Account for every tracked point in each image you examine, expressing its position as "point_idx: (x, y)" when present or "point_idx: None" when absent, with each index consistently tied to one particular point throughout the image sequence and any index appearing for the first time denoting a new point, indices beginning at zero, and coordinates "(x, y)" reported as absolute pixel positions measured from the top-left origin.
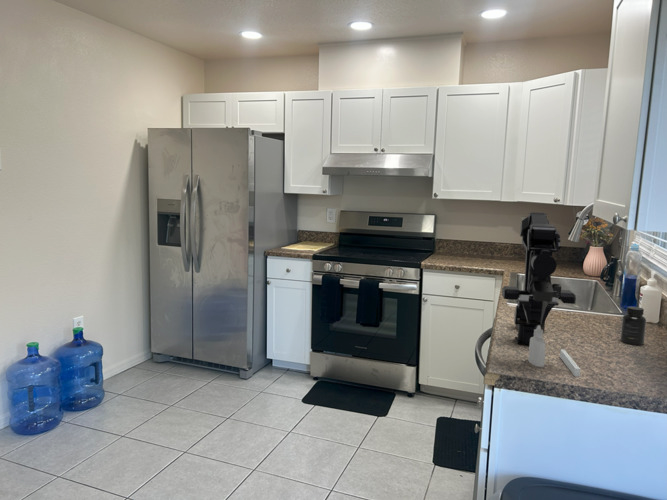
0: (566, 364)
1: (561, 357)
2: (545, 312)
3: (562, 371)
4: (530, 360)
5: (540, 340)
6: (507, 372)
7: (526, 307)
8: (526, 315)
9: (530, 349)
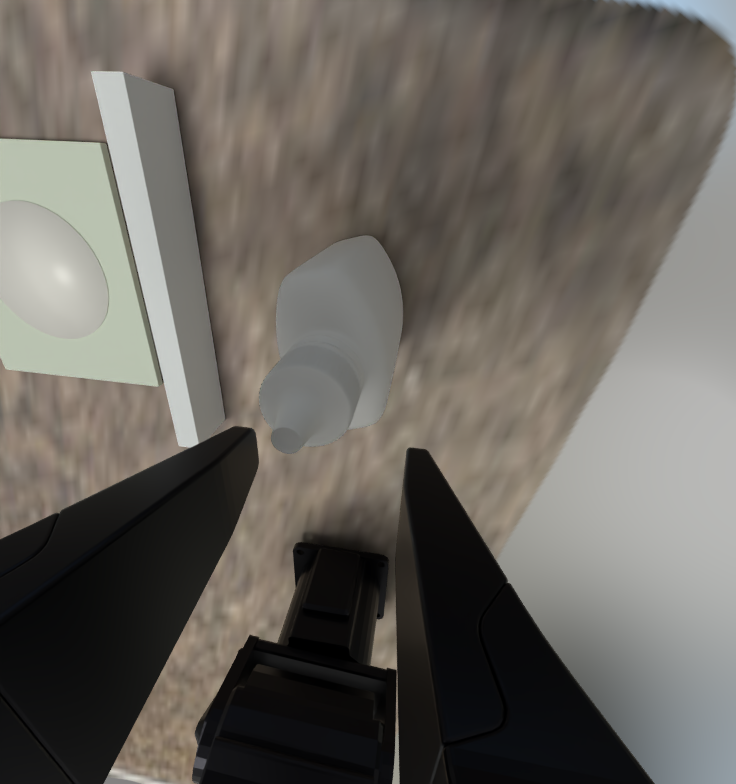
0: (195, 301)
1: (211, 402)
2: (61, 555)
3: (230, 232)
4: (399, 298)
5: (315, 309)
6: (613, 111)
7: (573, 771)
8: (483, 545)
9: (395, 334)
